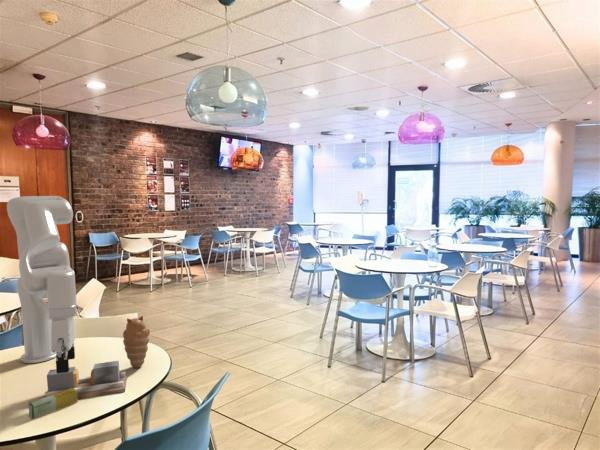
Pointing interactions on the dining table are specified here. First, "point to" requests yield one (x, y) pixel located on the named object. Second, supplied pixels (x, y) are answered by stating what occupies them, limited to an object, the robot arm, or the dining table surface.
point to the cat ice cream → (136, 341)
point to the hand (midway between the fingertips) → (66, 365)
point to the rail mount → (100, 381)
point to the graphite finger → (62, 379)
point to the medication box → (52, 403)
